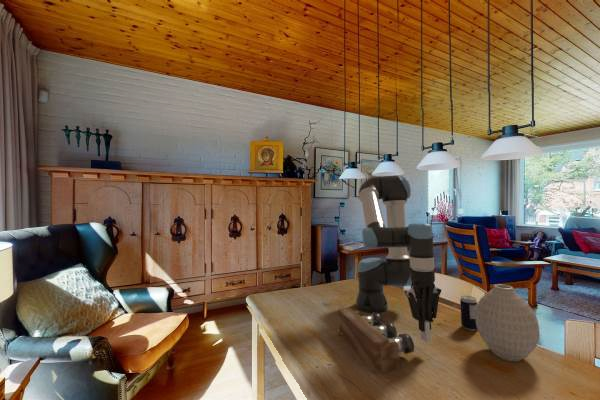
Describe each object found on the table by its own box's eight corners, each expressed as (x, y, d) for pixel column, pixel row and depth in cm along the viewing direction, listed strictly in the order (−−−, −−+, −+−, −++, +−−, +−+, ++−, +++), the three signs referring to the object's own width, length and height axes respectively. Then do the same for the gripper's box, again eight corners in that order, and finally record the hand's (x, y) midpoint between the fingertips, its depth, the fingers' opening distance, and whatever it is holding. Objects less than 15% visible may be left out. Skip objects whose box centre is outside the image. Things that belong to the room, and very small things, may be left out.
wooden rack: (357, 328, 104) (356, 306, 105) (399, 368, 78) (398, 339, 79) (339, 332, 102) (338, 309, 103) (375, 374, 76) (374, 343, 77)
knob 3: (403, 346, 87) (402, 330, 87) (414, 356, 82) (413, 338, 82) (380, 351, 85) (379, 334, 85) (390, 361, 80) (389, 342, 80)
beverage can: (476, 325, 104) (474, 295, 104) (480, 332, 98) (479, 300, 99) (459, 324, 106) (458, 294, 106) (463, 330, 100) (462, 299, 101)
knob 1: (375, 324, 105) (374, 310, 105) (382, 330, 99) (382, 315, 99) (355, 327, 102) (354, 313, 103) (362, 333, 97) (361, 318, 97)
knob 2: (387, 334, 96) (387, 319, 96) (397, 341, 90) (396, 325, 91) (366, 338, 94) (366, 322, 94) (374, 346, 88) (374, 329, 88)
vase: (526, 378, 72) (521, 298, 73) (466, 350, 87) (463, 284, 87) (551, 360, 80) (546, 288, 80) (492, 337, 94) (489, 276, 95)
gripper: (429, 265, 92) (433, 332, 91) (398, 268, 89) (401, 338, 88) (446, 269, 85) (450, 342, 84) (413, 273, 82) (416, 349, 81)
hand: (425, 340), depth 86 cm, fingers closed
